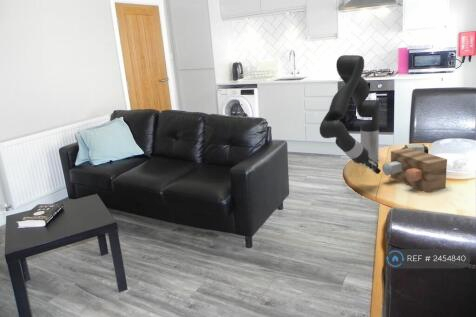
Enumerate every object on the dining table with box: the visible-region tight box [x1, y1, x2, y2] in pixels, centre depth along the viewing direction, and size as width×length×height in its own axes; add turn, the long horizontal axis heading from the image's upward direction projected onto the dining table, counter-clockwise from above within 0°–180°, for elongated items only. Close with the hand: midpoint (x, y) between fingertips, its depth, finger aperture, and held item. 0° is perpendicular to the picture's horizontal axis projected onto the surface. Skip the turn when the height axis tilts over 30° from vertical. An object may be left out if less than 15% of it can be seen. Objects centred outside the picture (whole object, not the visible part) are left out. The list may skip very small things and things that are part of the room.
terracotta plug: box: [405, 168, 423, 182], centre depth 176 cm, size 6×11×6 cm, turn 110°
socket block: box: [390, 147, 448, 193], centre depth 183 cm, size 23×10×13 cm, turn 20°
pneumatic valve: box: [401, 143, 429, 154], centre depth 204 cm, size 6×12×12 cm, turn 79°
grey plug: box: [382, 161, 403, 176], centre depth 186 cm, size 6×11×6 cm, turn 110°
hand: (378, 172), depth 183 cm, fingers closed
